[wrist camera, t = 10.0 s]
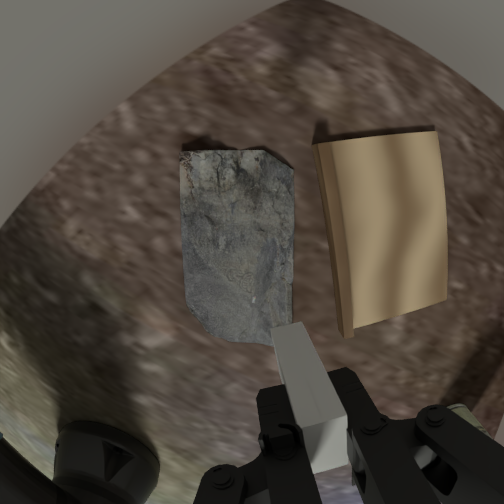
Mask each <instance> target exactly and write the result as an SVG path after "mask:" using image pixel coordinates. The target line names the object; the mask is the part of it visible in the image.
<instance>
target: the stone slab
mask: <svg viewBox="0 0 504 504" xmlns="http://www.w3.org/2000/svg"><path fill="white" fill-rule="evenodd" d="M180 208H181V235H182V253H183V270H184V283H185V295H186V304H187V307H188V308H189V310H190V312H192V314H193V315H194V316H195V317H196V318H198V321H199V322H200V323H201V324H202V325H203V327H204V329H205V330H206V331H207V332H208V333H210V334H211V335H213V336H214V337H219V338H223V339H226V340H228V341H232V342H249V343H260V344H265V345H269V346H274V344H273V340H272V335H271V330H270V329H272V328H276V327H280V326H285V325H289V324H292V282H293V243H294V170H293V169H291V168H290V167H288V166H287V165H285V164H284V163H282V162H281V161H279V160H278V159H276V158H275V157H273V156H272V155H270V154H269V153H267V152H266V151H264V150H196V151H185V152H180Z"/></svg>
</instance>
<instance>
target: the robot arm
mask: <svg viewBox="0 0 504 504" xmlns="http://www.w3.org/2000/svg"><path fill="white" fill-rule="evenodd" d="M270 330H271V335H272V340H273V344H274V349H275V354H276V359H277V364H278V369H279V373H280V377H281V381H282V385H278V386H273V387H269V388H264V389H260V391H259V393H258V395H257V398H256V401H257V408H258V415H259V421H260V428H261V432H260V434H259V438H258V441H259V445H260V448H261V453H260V454H259V456H258V457H257V458H256V459H255V460H253V461H252V462H250V463H248V464H246V465H243V466H241V467H239V468H237V467H236V466H234V465H229V464H223V465H217V466H215V467H212V468H211V469H209V470H208V471H207V472H205V474H204V476H203V477H202V479H201V482H200V485H199V488H198V491H197V494H196V497H195V500H194V502H193V504H322V501H321V498H320V494H319V491H318V488H317V484H316V481H315V478H314V473H318V472H322V471H326V470H329V469H333V468H336V467H340V466H343V465H346V464H348V458H349V460H350V462H351V465H352V486H353V485H355V483H356V485H357V488H358V490H359V493H360V495H361V498H362V500H363V503H364V504H441V503H440V502H442V503H443V504H504V447H503V446H502V445H500V444H499V443H497V442H496V441H494V440H493V439H492V438H490V437H489V436H487V435H486V434H484V433H483V432H482V431H480V430H479V429H477V428H476V427H475V426H473V425H472V424H470V423H469V422H467V421H466V420H465V419H463V418H462V417H460V416H459V415H458V414H456V413H455V412H453V411H452V410H451V409H449V408H447V407H445V406H443V405H430V406H427V407H425V408H423V409H422V410H421V411H420V412H419V413H418V414H417V417H416V418H412V419H404V420H393V419H389V418H388V417H387V416H386V415H383V414H381V413H380V412H379V411H378V410H377V408H376V406H375V405H374V403H373V401H372V400H371V398H370V396H369V395H368V393H367V391H366V390H365V389H364V386H363V385H362V383H361V382H360V380H359V378H358V376H357V375H356V373H355V372H353V371H352V370H350V369H349V368H347V367H344V368H341V369H337V370H334V371H330V372H326V370H325V368H324V366H323V364H322V362H321V360H320V358H319V356H318V354H317V352H316V350H315V348H314V346H313V344H312V341H311V339H310V337H309V335H308V333H307V331H306V329H305V327H304V325H303V323H302V321H301V322H297V323H293V324H289V325H285V326H280V327H276V328H272V329H270ZM55 452H56V453H55V460H54V477H53V479H52V481H51V480H50V479H49V478H48V477H46V476H45V475H44V474H43V473H41V472H40V471H39V470H38V469H37V468H36V467H34V466H33V465H32V464H31V463H30V462H29V461H28V460H27V459H25V458H24V457H23V456H22V455H21V454H20V453H19V452H18V451H17V450H16V449H15V448H14V447H13V446H12V445H10V444H9V443H8V442H7V441H6V440H5V439H4V438H3V434H2V433H1V432H0V504H144V503H145V502H146V501H147V499H148V498H149V496H150V494H151V493H152V491H153V490H154V489H155V488H156V486H157V483H158V478H159V472H160V467H159V464H158V461H157V459H156V458H155V456H154V455H153V454H152V453H151V452H150V450H149V449H147V448H146V447H145V446H144V445H143V444H142V443H140V442H139V441H137V440H136V439H134V438H133V437H131V436H129V435H127V434H126V433H124V432H122V431H119V430H117V429H115V428H112V427H109V426H106V425H103V424H99V423H94V422H87V421H78V422H72V423H69V424H67V425H66V426H65V427H63V429H62V430H61V432H60V434H59V436H58V438H57V440H56V444H55Z"/></svg>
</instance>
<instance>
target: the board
mask: <svg viewBox="0 0 504 504" xmlns="http://www.w3.org/2000/svg"><path fill="white" fill-rule="evenodd" d="M312 149H313V154H314V159H315V165H316V170H317V176H318V181H319V187H320V193H321V199H322V205H323V211H324V218H325V224H326V231H327V238H328V245H329V252H330V259H331V267H332V275H333V283H334V292H335V301H336V310H337V320H338V330H339V331H340V333H341V334H342V336H343V338H344V339H346V338H350V337H354V328H358V327H361V326H365V325H368V324H372V323H375V322H379V321H382V320H386V319H389V318H392V317H395V316H399V315H402V314H405V313H408V312H411V311H415V310H418V309H421V308H424V307H427V306H430V305H433V304H436V303H439V302H442V301H444V300H447V274H448V246H447V218H446V203H445V190H444V180H443V171H442V163H441V155H440V148H439V141H438V135H437V131H429V132H416V133H404V134H393V135H383V136H374V137H365V138H357V139H349V140H342V141H334V142H325V143H319V144H314V145H312Z"/></svg>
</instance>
